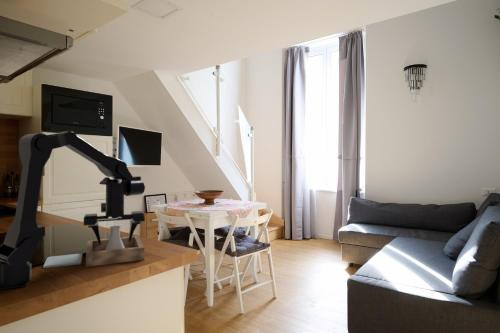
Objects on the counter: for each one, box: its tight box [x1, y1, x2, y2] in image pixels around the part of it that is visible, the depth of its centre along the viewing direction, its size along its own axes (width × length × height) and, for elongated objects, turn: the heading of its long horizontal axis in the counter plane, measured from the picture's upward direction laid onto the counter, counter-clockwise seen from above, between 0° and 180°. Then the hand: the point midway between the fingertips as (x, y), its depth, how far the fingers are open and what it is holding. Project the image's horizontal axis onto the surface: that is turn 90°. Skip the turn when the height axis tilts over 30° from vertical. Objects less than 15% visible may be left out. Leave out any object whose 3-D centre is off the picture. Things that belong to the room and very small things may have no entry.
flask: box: [106, 225, 125, 250], centre depth 107 cm, size 7×7×10 cm
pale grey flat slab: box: [42, 252, 83, 269], centre depth 100 cm, size 10×10×1 cm
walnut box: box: [85, 235, 145, 268], centre depth 107 cm, size 17×17×4 cm
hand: (114, 243), depth 107 cm, fingers open, 9 cm apart
